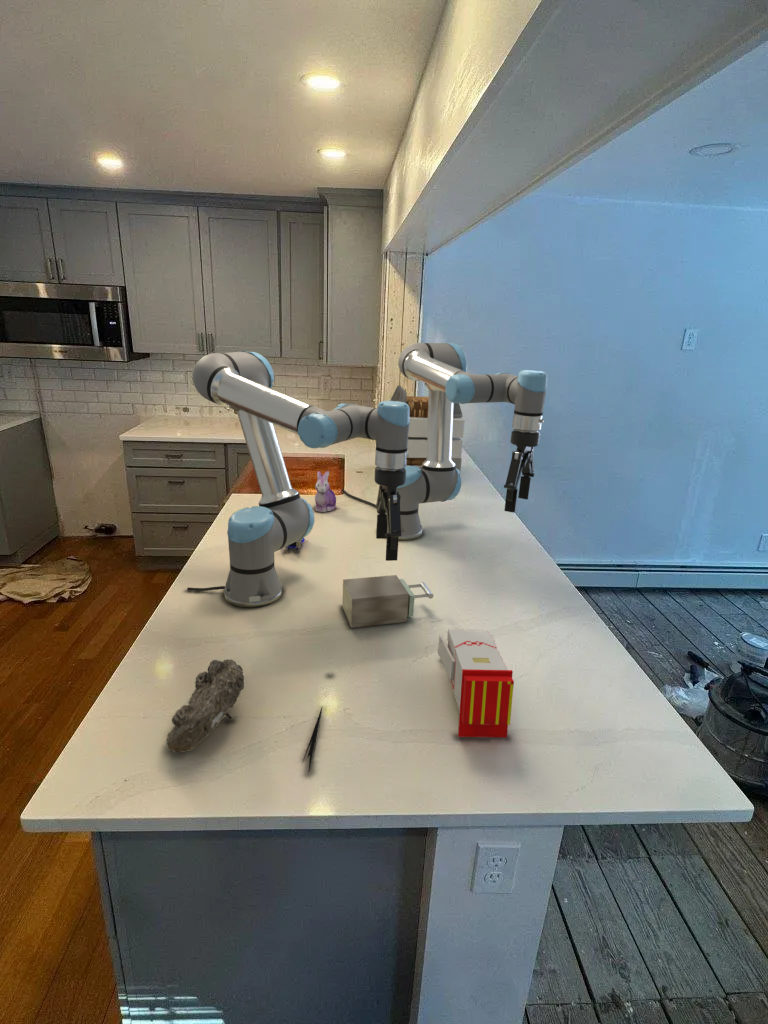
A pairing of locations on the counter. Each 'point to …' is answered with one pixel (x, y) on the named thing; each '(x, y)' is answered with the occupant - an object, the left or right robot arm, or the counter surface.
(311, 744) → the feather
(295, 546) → the figurine character
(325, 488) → the figurine
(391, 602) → the cabinet
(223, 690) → the fossil
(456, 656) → the toy
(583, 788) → the counter surface
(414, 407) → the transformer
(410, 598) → the drawer
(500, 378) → the right robot arm
